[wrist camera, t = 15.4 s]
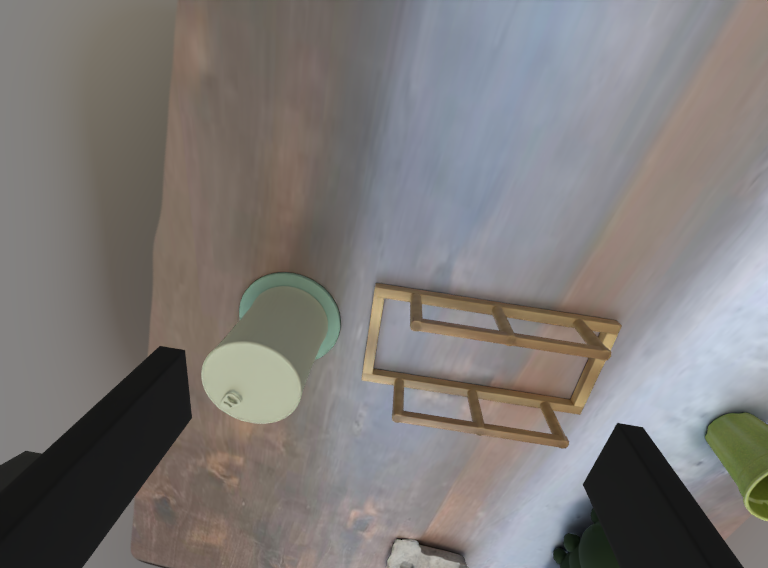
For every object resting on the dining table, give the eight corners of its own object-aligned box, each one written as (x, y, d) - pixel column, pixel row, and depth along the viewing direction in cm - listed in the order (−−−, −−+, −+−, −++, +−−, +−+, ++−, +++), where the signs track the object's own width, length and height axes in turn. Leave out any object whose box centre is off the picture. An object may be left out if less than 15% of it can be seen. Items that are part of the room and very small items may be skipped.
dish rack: (375, 282, 42) (369, 313, 35) (616, 320, 41) (655, 358, 35) (362, 374, 47) (354, 416, 40) (576, 408, 47) (603, 455, 40)
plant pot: (790, 425, 46) (869, 489, 38) (720, 467, 49) (779, 534, 41) (742, 387, 44) (815, 446, 36) (673, 433, 47) (726, 496, 39)
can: (235, 317, 44) (176, 382, 33) (286, 270, 41) (241, 324, 30) (292, 366, 46) (255, 443, 35) (344, 325, 43) (322, 395, 33)
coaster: (239, 264, 42) (238, 266, 41) (345, 281, 42) (344, 282, 41) (241, 352, 47) (239, 355, 46) (336, 367, 47) (335, 370, 46)
